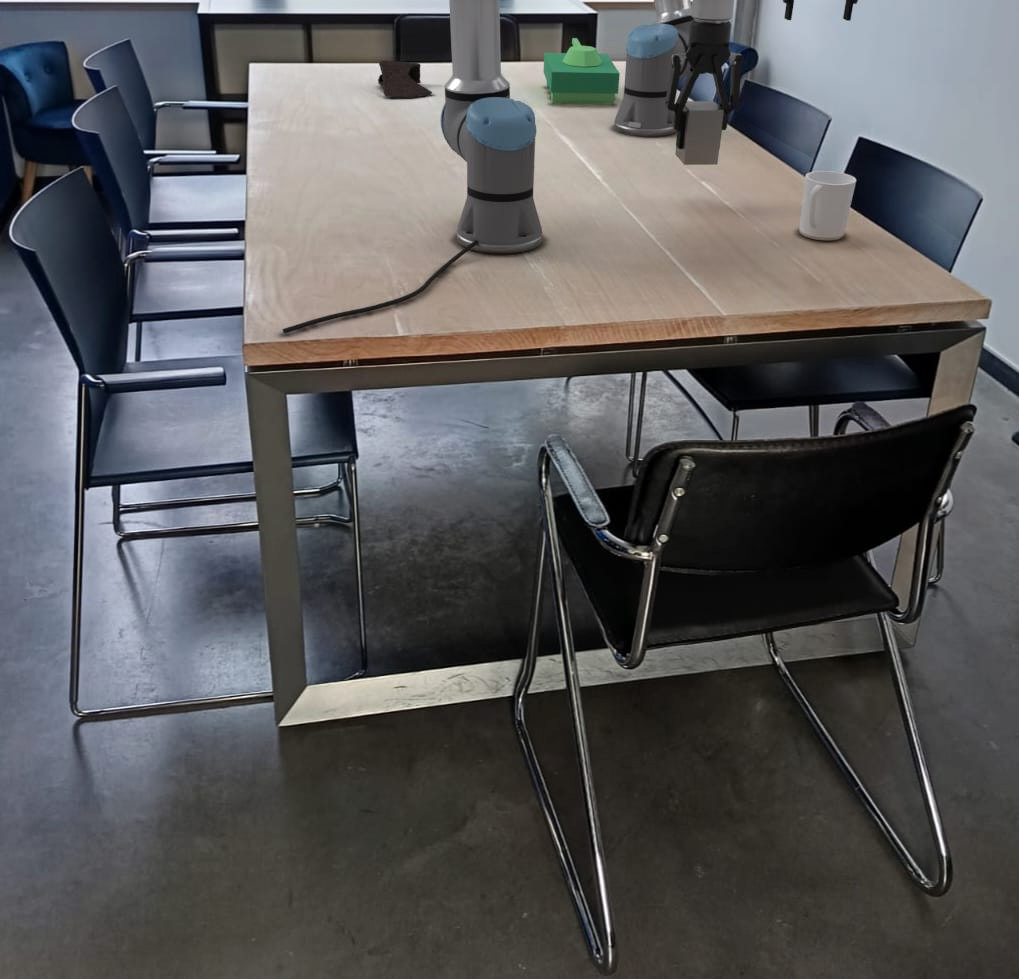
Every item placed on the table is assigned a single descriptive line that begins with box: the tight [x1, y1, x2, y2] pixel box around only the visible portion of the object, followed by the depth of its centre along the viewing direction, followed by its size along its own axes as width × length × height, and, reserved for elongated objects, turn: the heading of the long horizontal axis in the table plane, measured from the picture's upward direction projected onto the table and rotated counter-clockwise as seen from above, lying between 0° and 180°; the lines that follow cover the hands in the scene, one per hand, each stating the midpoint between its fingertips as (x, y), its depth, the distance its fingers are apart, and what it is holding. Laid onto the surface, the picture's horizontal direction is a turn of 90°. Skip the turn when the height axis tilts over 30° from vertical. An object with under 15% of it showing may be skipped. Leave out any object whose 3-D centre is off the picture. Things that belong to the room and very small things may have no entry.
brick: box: [674, 100, 724, 166], centre depth 212 cm, size 8×7×10 cm
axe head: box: [377, 59, 433, 99], centre depth 299 cm, size 18×8×15 cm
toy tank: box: [543, 37, 620, 105], centre depth 300 cm, size 18×12×35 cm
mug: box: [798, 170, 857, 241], centre depth 199 cm, size 11×9×10 cm
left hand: (697, 146), depth 213 cm, fingers closed on brick, 7 cm apart
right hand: (817, 19), depth 244 cm, fingers open, 13 cm apart
